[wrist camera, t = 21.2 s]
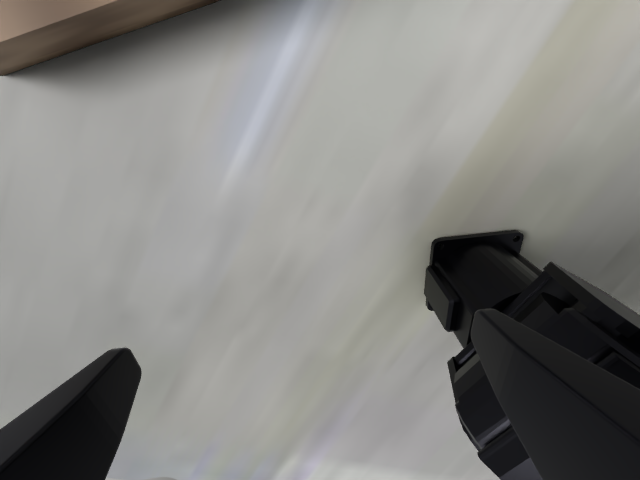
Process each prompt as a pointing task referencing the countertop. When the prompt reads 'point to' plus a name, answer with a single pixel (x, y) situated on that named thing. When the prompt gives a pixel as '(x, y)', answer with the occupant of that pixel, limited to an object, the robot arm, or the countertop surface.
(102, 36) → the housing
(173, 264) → the countertop surface
